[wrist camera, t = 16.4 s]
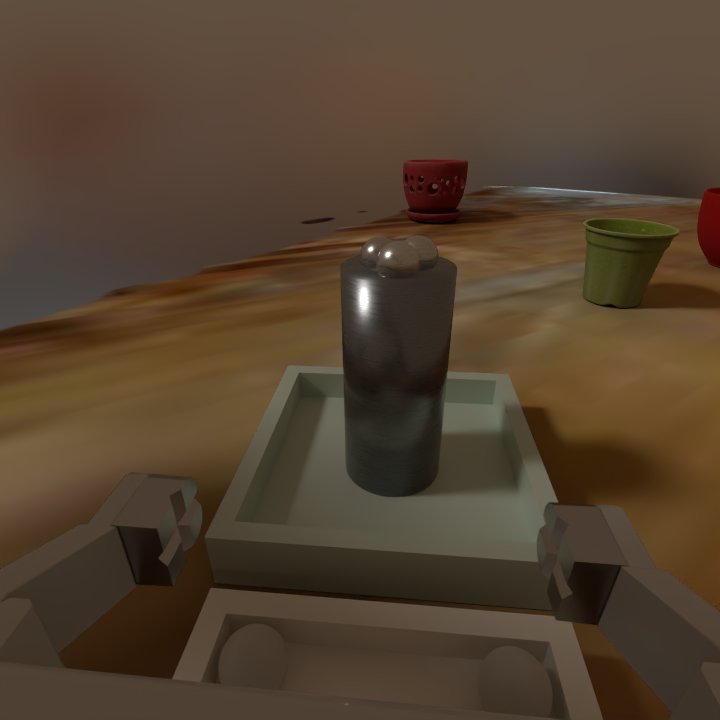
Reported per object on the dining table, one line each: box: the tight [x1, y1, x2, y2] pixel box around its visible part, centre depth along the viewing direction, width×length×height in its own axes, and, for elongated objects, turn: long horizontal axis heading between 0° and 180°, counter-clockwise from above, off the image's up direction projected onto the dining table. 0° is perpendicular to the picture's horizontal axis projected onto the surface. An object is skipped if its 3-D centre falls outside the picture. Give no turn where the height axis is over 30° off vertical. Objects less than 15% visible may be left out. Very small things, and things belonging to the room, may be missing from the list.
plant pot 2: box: [583, 218, 680, 308], centre depth 53 cm, size 9×9×9 cm
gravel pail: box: [340, 236, 457, 497], centre depth 24 cm, size 6×6×13 cm
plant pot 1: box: [403, 160, 468, 223], centre depth 97 cm, size 13×13×12 cm
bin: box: [204, 365, 558, 610], centre depth 27 cm, size 16×16×3 cm
